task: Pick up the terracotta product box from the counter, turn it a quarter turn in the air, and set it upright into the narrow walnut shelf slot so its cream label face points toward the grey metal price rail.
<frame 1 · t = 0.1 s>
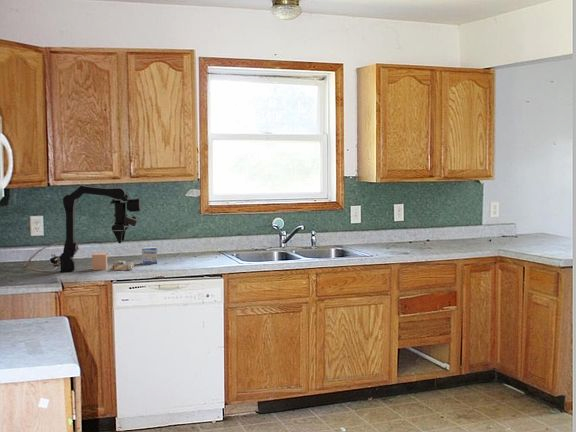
hand: (121, 242, 356), 15 cm above the worktop, fingers open, 9 cm apart
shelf: (123, 268, 360), on the worktop
medicine box: (149, 263, 375), on the worktop
product box: (100, 269, 359), on the worktop
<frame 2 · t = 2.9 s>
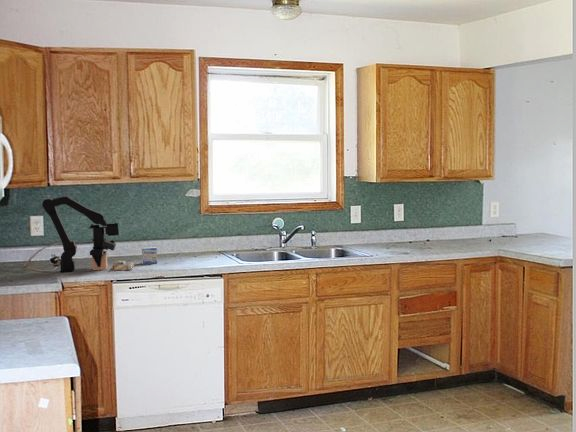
hand: (100, 266, 359), 2 cm above the worktop, fingers closed on product box, 4 cm apart
product box: (100, 269, 359), on the worktop, touching gripper
everything else where it was.
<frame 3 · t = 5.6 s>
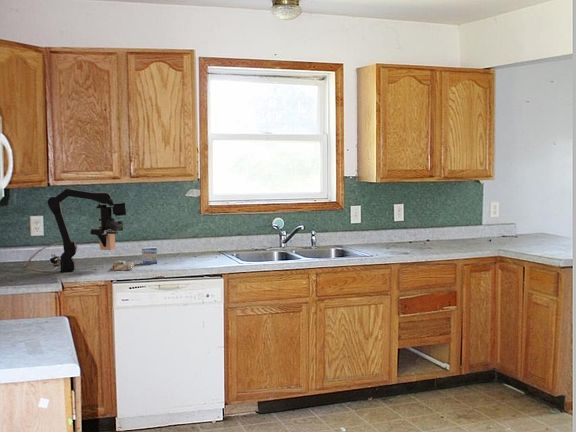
hand: (107, 246, 358), 12 cm above the worktop, fingers closed on product box, 4 cm apart
product box: (107, 249, 358), point 10 cm above the worktop, touching gripper
everything else where it was.
when the fingers open (4 cm above the worktop, at t = 8.6 s): product box drops 1 cm, resting on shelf.
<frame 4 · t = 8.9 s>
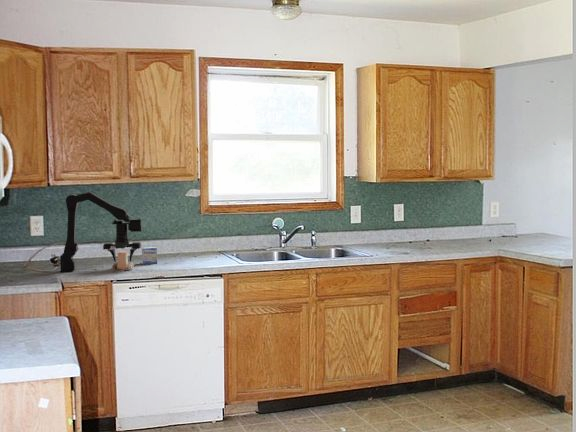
hand: (122, 261, 359), 4 cm above the worktop, fingers open, 7 cm apart
product box: (122, 267, 360), point 1 cm above the worktop, touching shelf
everything else where it was.
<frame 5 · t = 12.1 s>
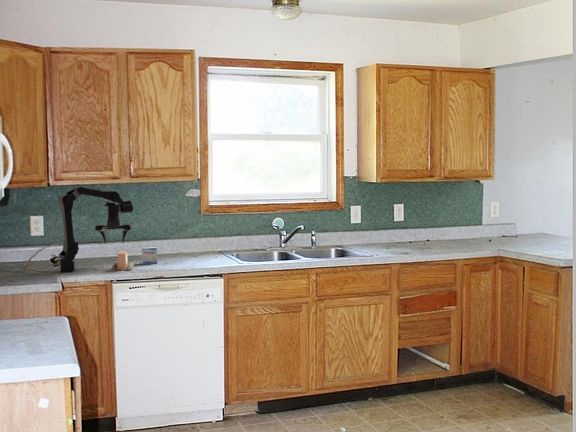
hand: (114, 243, 369), 12 cm above the worktop, fingers open, 9 cm apart
nothing on the worktop moved.
at the end: product box 0.1 cm off-centre on the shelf, point 0.6 cm above the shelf's base; product box tilted 0°; the gripper is holding nothing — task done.
